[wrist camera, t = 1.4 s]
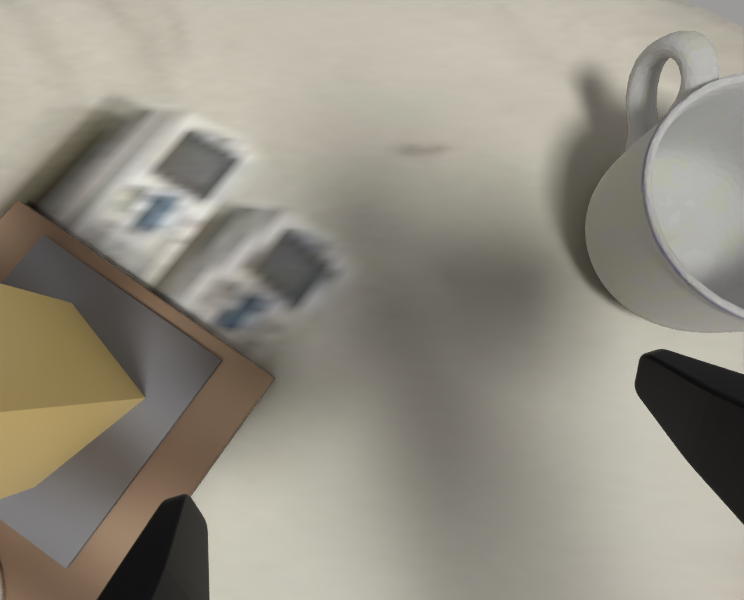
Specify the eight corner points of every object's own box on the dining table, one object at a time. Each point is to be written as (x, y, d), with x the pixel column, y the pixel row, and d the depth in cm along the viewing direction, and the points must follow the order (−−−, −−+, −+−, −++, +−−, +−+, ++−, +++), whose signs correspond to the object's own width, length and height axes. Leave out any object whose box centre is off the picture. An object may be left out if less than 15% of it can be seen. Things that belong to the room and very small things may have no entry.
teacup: (765, 328, 24) (967, 303, 16) (581, 359, 23) (701, 349, 15) (694, 104, 26) (840, -12, 19) (524, 124, 26) (603, 11, 18)
